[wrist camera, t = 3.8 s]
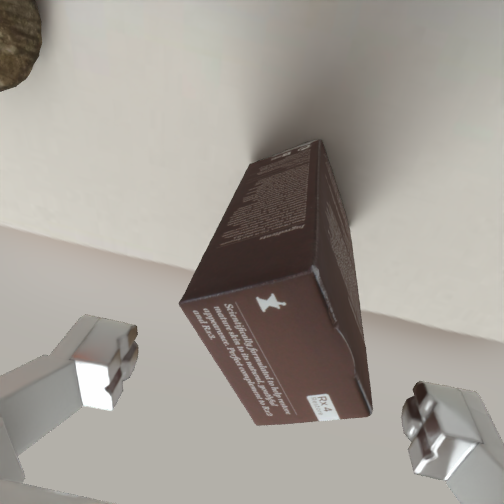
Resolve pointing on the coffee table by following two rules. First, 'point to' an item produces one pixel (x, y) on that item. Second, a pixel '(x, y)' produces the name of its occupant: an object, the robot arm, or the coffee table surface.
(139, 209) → the coffee table surface
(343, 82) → the coffee table surface
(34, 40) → the fossilized seashell
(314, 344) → the box
